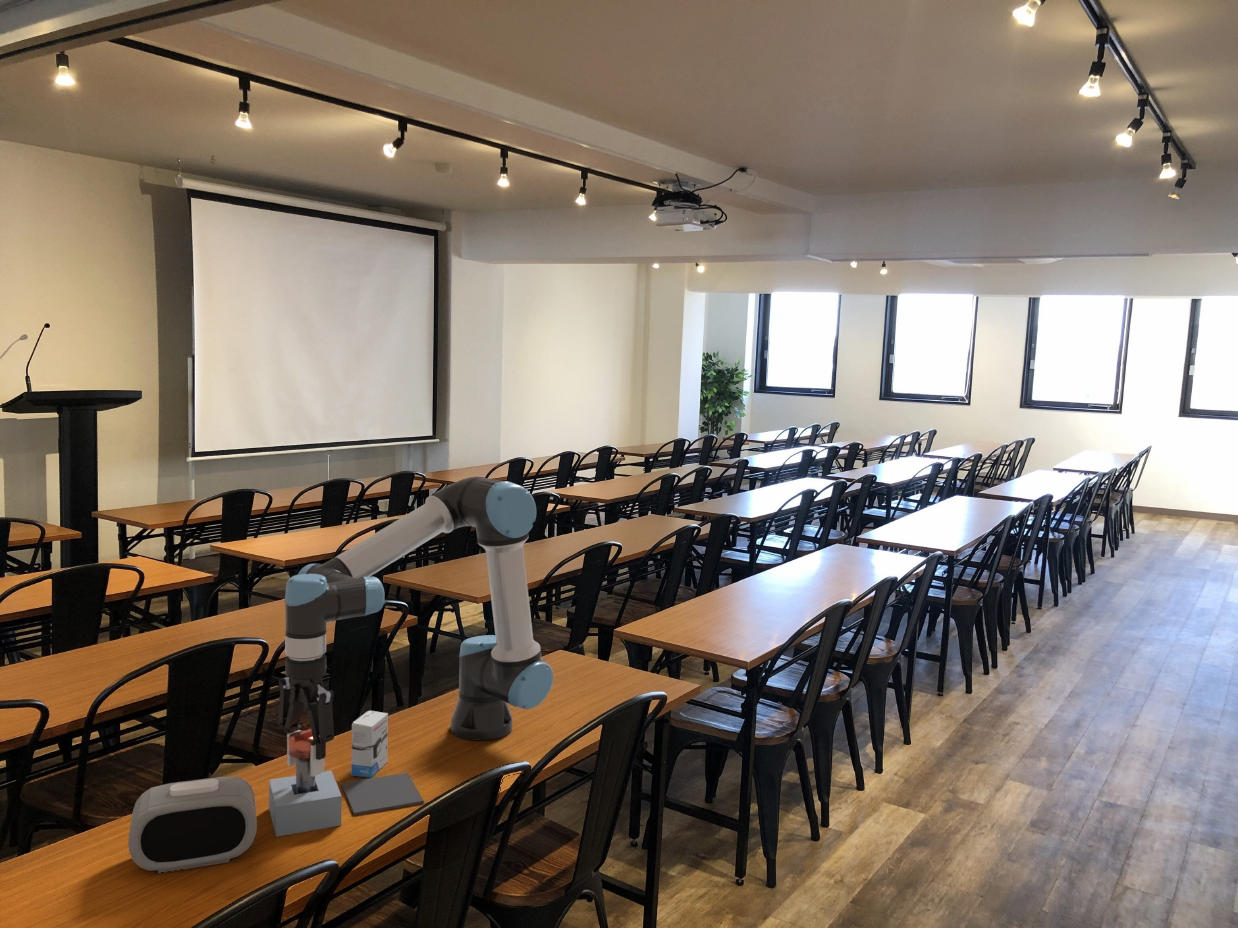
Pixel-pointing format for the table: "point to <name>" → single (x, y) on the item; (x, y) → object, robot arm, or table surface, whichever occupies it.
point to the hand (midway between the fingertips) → (305, 768)
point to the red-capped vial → (302, 760)
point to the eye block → (304, 805)
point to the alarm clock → (192, 824)
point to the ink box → (369, 743)
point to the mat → (381, 793)
